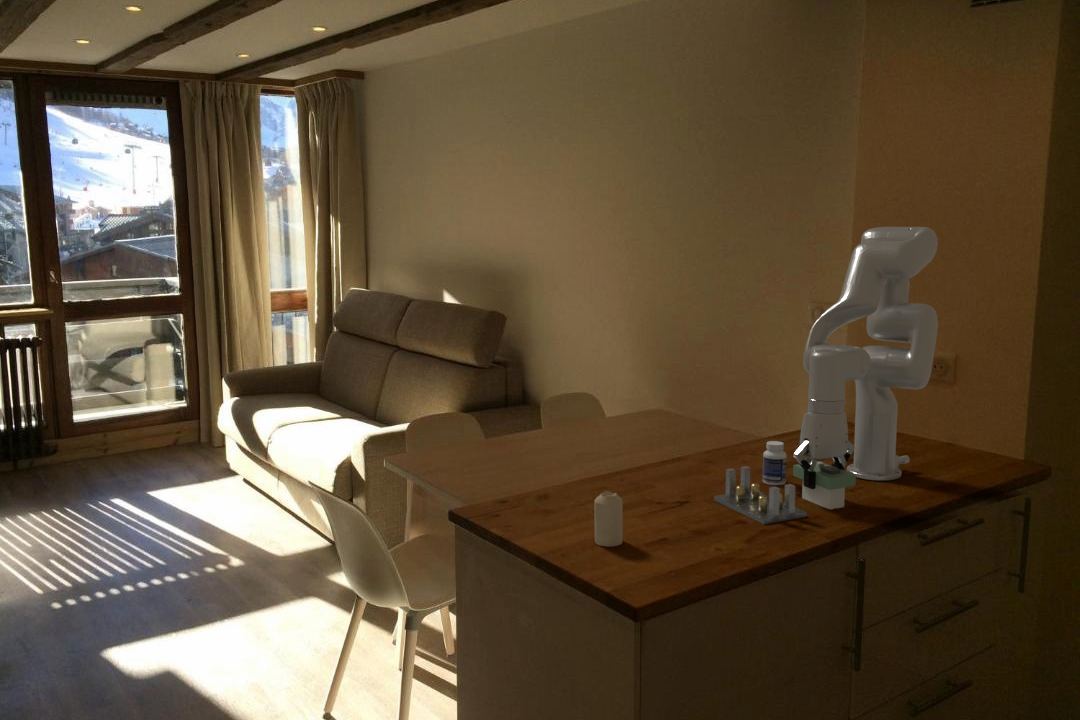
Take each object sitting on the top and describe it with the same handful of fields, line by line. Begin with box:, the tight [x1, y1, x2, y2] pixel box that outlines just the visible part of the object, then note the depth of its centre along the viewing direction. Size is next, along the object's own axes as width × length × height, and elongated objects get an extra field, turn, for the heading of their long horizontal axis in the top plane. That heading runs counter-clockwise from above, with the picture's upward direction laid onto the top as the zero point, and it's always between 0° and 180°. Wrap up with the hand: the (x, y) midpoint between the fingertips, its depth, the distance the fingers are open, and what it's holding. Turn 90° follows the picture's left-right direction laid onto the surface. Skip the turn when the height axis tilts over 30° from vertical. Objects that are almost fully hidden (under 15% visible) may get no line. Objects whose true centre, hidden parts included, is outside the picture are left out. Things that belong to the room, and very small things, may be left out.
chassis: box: [713, 465, 807, 525], centre depth 196 cm, size 11×18×7 cm, turn 23°
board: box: [792, 461, 857, 490], centre depth 198 cm, size 7×12×3 cm, turn 23°
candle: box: [593, 490, 624, 548], centre depth 177 cm, size 6×6×10 cm
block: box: [801, 480, 846, 510], centre depth 199 cm, size 4×9×5 cm, turn 23°
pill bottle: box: [762, 440, 788, 486], centre depth 214 cm, size 5×5×10 cm
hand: (823, 484), depth 199 cm, fingers closed on board, 7 cm apart
